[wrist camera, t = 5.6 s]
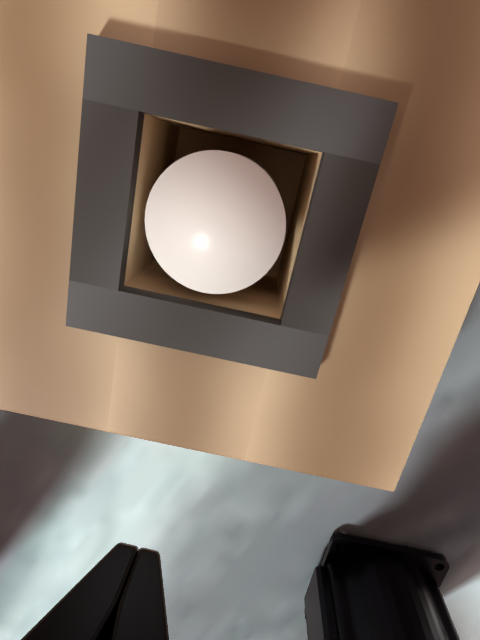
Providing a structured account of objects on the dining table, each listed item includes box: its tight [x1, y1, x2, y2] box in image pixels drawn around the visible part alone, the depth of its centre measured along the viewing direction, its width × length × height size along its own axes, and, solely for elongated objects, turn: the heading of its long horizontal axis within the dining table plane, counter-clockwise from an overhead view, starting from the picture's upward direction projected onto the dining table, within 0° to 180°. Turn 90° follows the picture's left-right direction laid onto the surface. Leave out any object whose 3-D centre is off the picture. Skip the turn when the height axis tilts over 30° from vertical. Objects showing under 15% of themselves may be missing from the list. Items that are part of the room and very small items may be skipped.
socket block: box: [0, 0, 480, 492], centre depth 16 cm, size 16×16×7 cm
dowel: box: [145, 150, 286, 294], centre depth 15 cm, size 4×4×6 cm
